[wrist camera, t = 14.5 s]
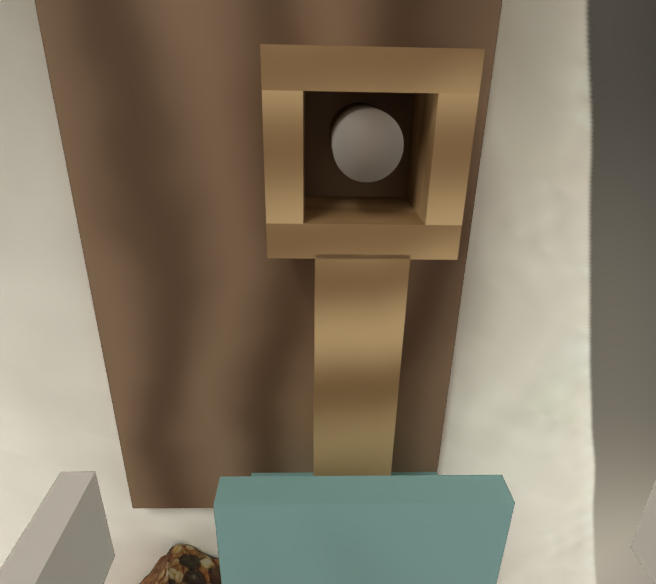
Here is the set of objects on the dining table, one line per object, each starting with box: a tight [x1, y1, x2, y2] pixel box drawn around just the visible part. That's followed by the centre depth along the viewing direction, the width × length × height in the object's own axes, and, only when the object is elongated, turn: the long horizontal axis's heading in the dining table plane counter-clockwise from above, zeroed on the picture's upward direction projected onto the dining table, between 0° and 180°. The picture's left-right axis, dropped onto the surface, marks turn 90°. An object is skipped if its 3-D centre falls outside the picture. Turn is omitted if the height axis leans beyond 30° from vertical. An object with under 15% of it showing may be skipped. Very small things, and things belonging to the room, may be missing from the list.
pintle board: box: [35, 0, 502, 508], centre depth 25 cm, size 20×30×6 cm, turn 179°
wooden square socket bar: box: [260, 44, 485, 476], centre depth 24 cm, size 22×8×5 cm, turn 179°
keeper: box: [214, 472, 515, 584], centre depth 27 cm, size 12×10×11 cm
